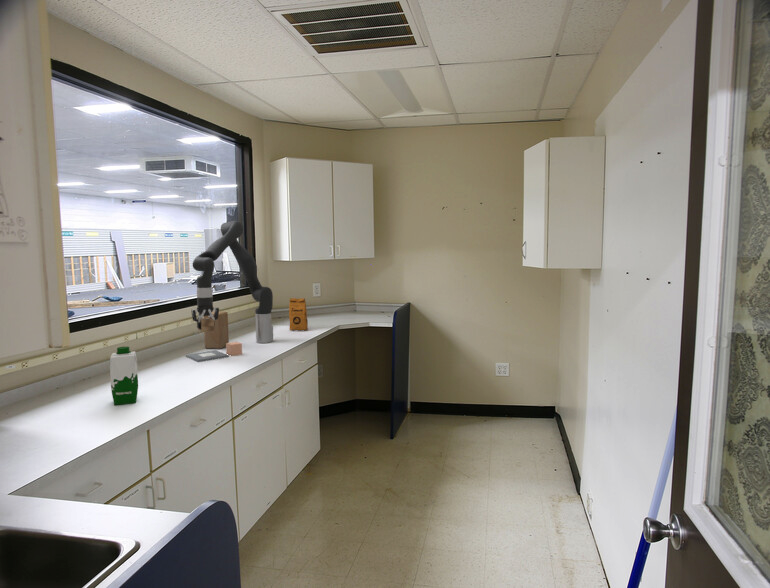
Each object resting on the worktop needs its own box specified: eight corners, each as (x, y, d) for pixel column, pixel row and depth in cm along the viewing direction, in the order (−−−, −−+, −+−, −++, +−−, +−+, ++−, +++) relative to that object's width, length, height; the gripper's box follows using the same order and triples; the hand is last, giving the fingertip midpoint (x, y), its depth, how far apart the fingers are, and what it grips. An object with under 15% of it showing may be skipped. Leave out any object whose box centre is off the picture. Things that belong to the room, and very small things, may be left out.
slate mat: (215, 352, 264) (215, 350, 264) (228, 356, 253) (228, 354, 253) (185, 356, 254) (185, 354, 254) (198, 361, 242) (197, 359, 242)
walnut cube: (209, 328, 256) (209, 317, 256) (214, 330, 252) (213, 318, 251) (198, 330, 252) (197, 318, 252) (202, 331, 248) (202, 320, 247)
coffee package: (305, 331, 326) (304, 299, 323) (287, 331, 327) (286, 298, 325) (309, 329, 335) (309, 297, 333) (292, 328, 337) (291, 297, 335)
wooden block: (220, 349, 271) (219, 313, 269) (204, 348, 273) (202, 313, 271) (229, 345, 281) (228, 311, 279) (213, 345, 283) (212, 311, 281)
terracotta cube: (237, 352, 263) (236, 341, 263) (242, 354, 259) (241, 343, 258) (226, 354, 259) (226, 343, 259) (231, 356, 255) (231, 344, 254)
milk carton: (139, 396, 187) (136, 345, 185) (138, 403, 178) (135, 350, 176) (113, 399, 183) (110, 347, 181) (110, 406, 175) (107, 352, 173)
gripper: (215, 294, 258) (216, 326, 259) (187, 296, 248) (189, 329, 250) (221, 295, 252) (222, 327, 254) (193, 297, 243) (194, 331, 244)
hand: (206, 328), depth 252 cm, fingers closed on walnut cube, 6 cm apart
